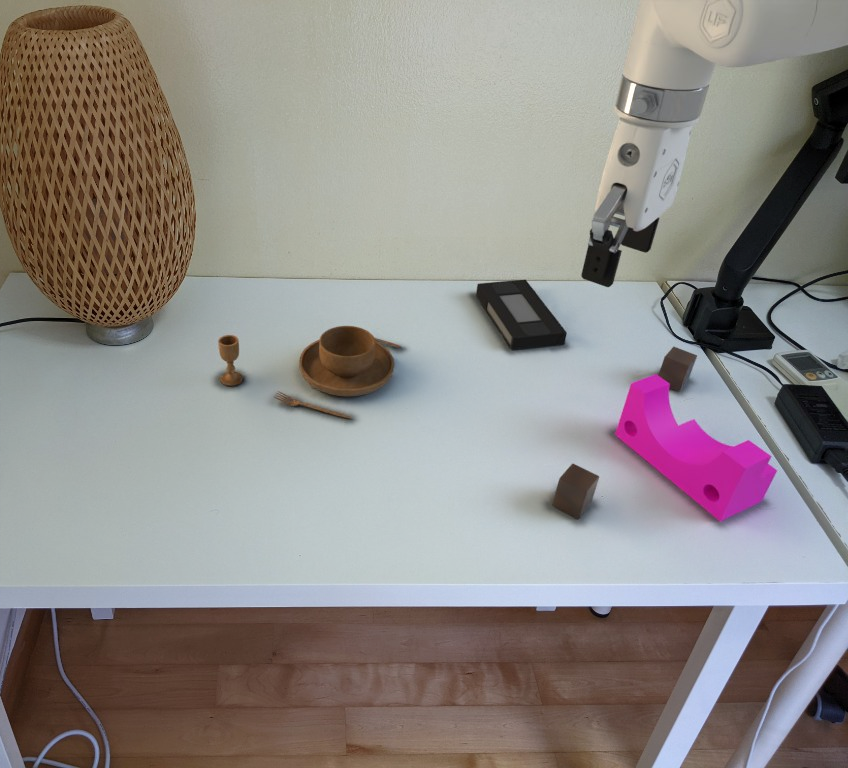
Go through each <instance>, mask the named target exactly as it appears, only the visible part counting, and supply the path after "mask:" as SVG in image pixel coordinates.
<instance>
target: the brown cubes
mask: <svg viewBox="0 0 848 768" xmlns="http://www.w3.org/2000/svg"><path fill="white" fill-rule="evenodd" d="M697 358H698V354H695V353H693V352H689V351H688V350H684V349H682V348H680V347H677V346H672V347H671V348H670V350H669V351H668V352H667V353H666V354H665V356H664V357H663V361H662V362H661V366H660V368H659V372H658V374H657V375H658V376H660V377H661V378H662V379H664V380H665V381H667V382H668V383H669V384H670V387H669V389H671V390H673V391H676V392H679V393H680V392H681V391H682V389H683V388H684V387H685V385H686V384H687V383H688V382H689V380H690V377H691V374H692V372H693V369H694V366H695V364H696V361H697ZM599 480H600V475H598V474H596V473H594V472H592V471H590V470H587V469H586V468H584V467H582V466H579V465H578V464H576V463H574V462H573V463H571V464H570V465H569V466H568V468H567V469H566V470H565V471H564V472H563V474H562V475H561V476H560V477H559V479H558V482H557V486H556V490H555V492H554V493H555V494H554V496H553V501H552V505H551V506H552V507H553V508H555V509H557V510H559V511H561V512H563V513H565V514H566V515H568V516H571V517H573V518H574V519H576V520H580V519H581V517H582V516H583V515H584V513H585V512H586V511H587V510H588V508H589V507H590V506H591V505H592V502H593V499H594V496H595V492H596V490H597V486H598V483H599Z"/></svg>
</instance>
